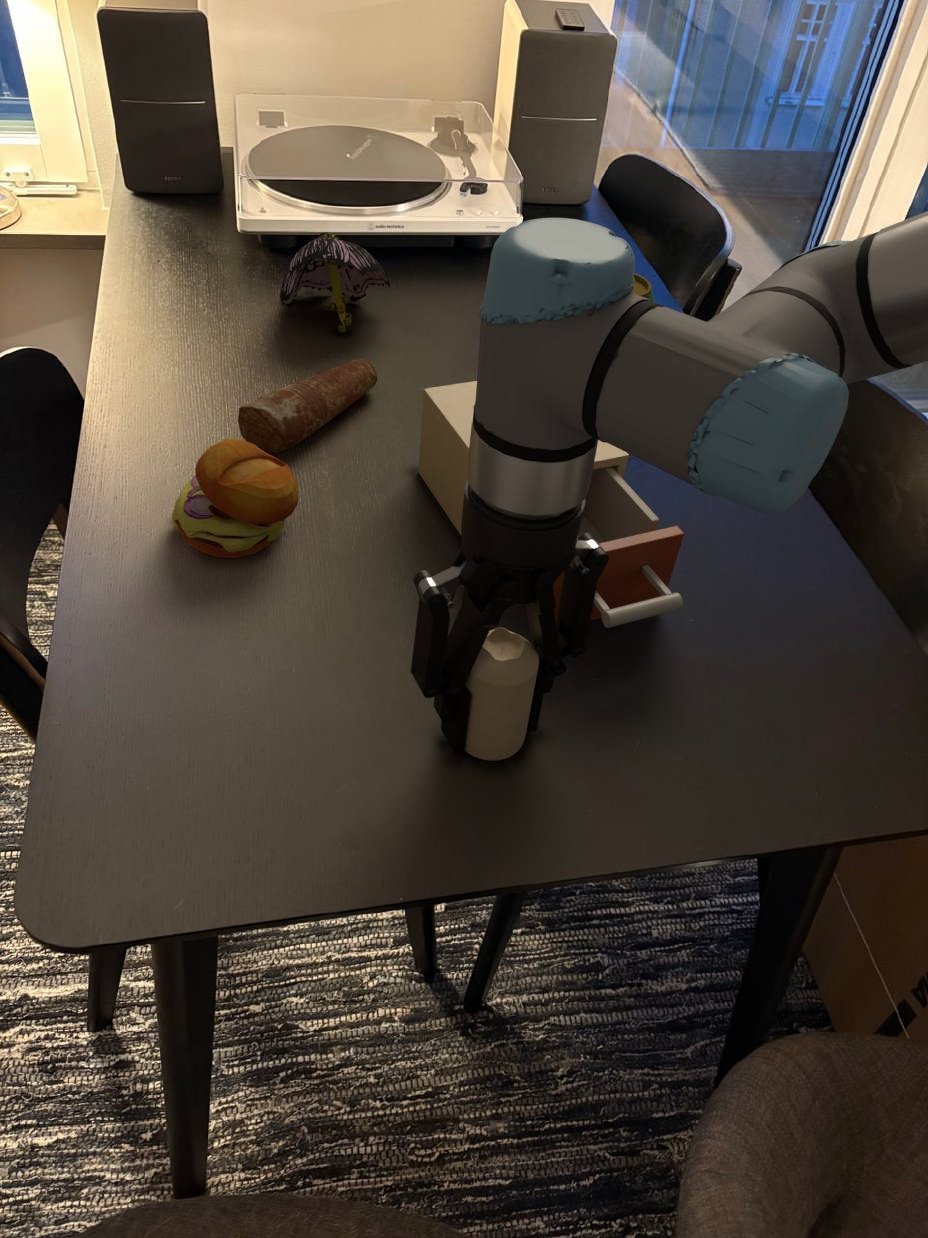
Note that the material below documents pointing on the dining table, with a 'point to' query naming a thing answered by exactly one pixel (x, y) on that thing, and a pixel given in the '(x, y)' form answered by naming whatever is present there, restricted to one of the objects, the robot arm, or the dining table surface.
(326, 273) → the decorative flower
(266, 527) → the cheeseburger
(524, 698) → the candle
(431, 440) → the small drawer cabinet
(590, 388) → the robot arm
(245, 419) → the brown sausage
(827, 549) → the dining table surface
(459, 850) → the dining table surface
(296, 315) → the dining table surface
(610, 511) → the drawer
